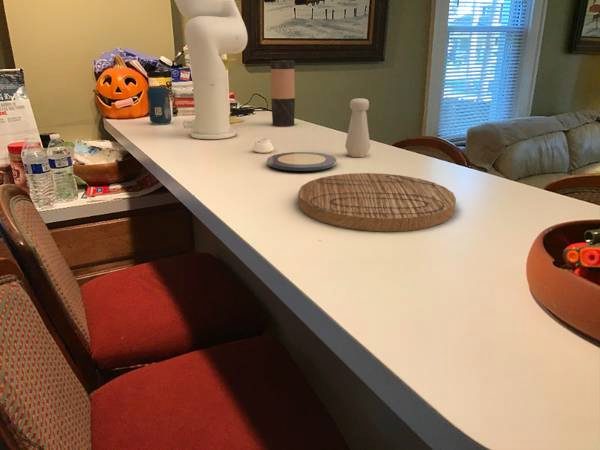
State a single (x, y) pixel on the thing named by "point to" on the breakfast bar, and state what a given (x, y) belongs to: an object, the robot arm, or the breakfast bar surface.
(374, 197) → the trivet
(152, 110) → the soda can
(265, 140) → the white jar
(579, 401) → the breakfast bar surface
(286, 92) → the travel mug
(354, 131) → the salt shaker
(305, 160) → the plate
